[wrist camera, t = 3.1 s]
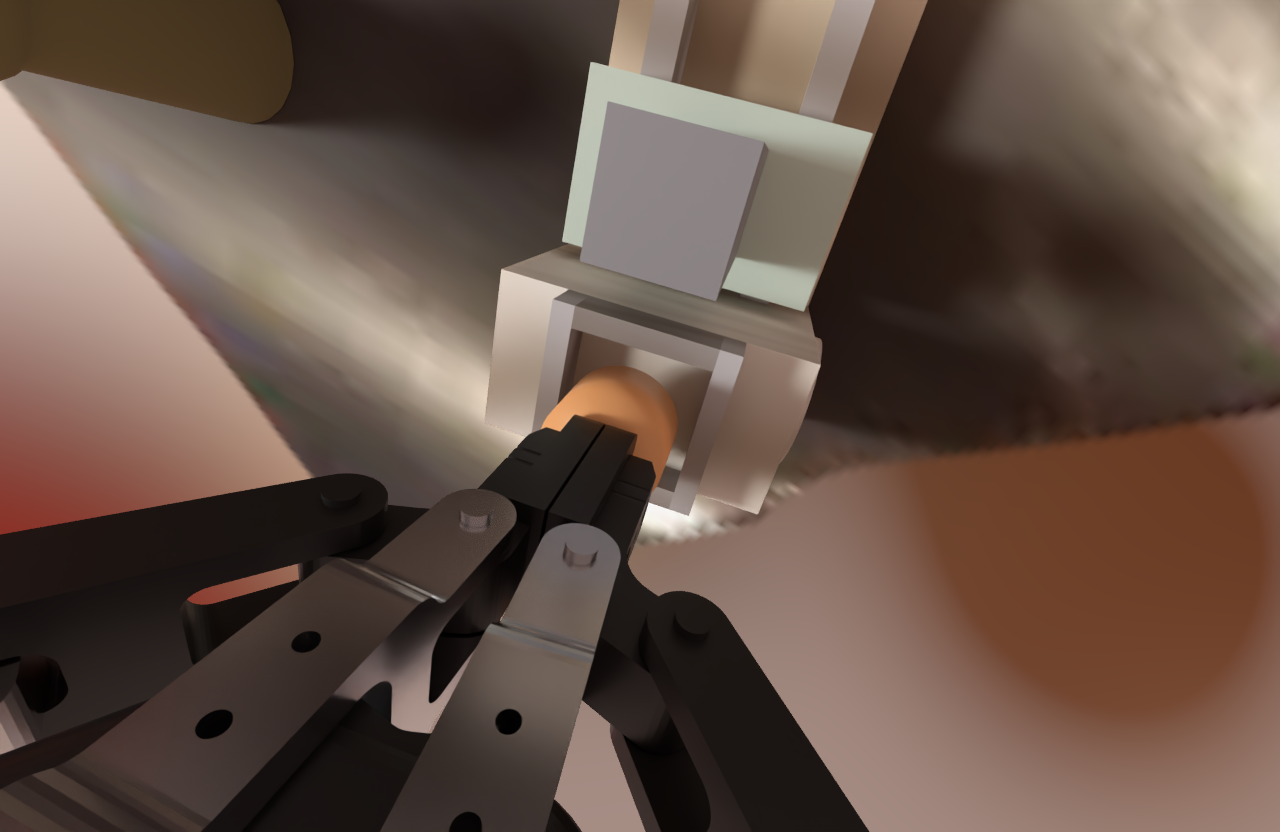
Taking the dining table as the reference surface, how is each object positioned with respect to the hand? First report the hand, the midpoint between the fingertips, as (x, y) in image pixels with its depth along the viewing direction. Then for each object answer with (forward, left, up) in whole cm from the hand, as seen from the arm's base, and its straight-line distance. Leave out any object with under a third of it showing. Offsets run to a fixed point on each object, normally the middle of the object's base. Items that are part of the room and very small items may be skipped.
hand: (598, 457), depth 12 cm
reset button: (0, 0, -2) cm, 2 cm away
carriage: (-6, 0, -8) cm, 10 cm away
